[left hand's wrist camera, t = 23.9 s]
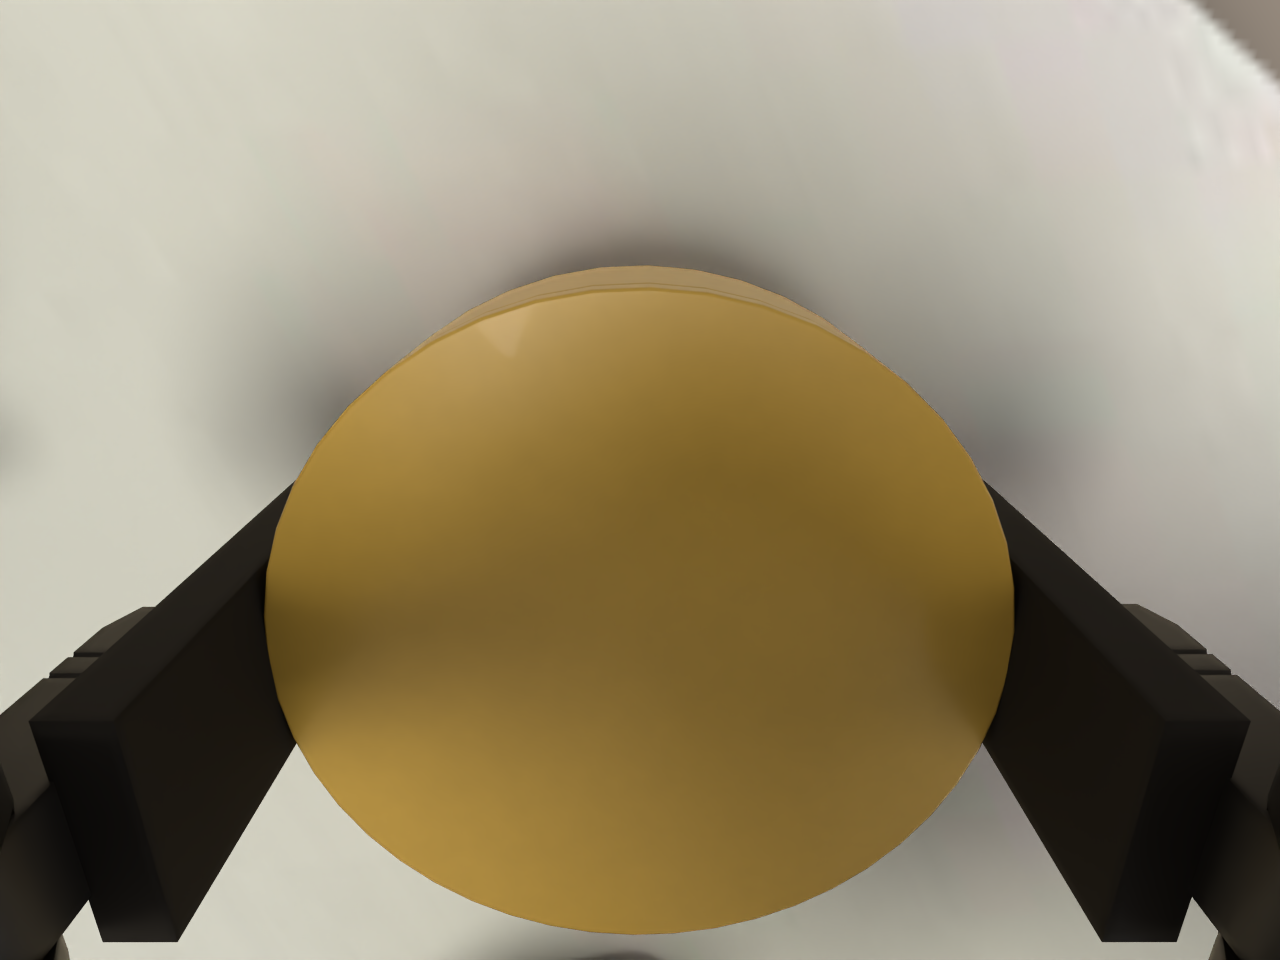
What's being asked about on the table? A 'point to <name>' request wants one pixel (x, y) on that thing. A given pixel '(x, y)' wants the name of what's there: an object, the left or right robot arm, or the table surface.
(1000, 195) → the table surface
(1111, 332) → the table surface
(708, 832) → the lid
